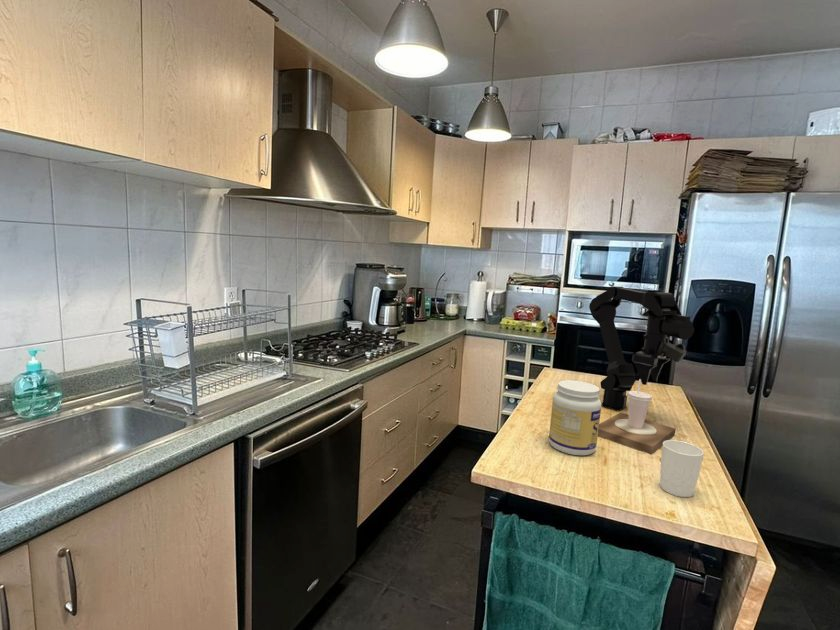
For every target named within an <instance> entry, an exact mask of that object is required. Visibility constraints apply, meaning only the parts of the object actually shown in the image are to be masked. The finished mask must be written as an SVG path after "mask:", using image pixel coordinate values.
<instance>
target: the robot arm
mask: <svg viewBox="0 0 840 630" xmlns="http://www.w3.org/2000/svg"><path fill="white" fill-rule="evenodd" d="M622 301H628V302H630V303H635V304H639V305H641V306H642V307H643V308H644V309H647V310H646V311H645V312H643V313H642V316H643V317H646V318H647V322H646V329H645V334H643V336H642V339H643V340H644V342H643V343H644V345H643V347H641V350H640V351H637V352H635V353H633V354H632V357H631V358H632V359H631V361H632V362H633V363H628V362H627V361H626V359H625V356H624V354H623V350H622V346H621V345H622V344H621V341H620V339H619V335H618V330H617V326H616V323H615V318H616V316H617V308H618V307H619V306H620V305H621V302H622ZM588 308H589V312H590V314H591V315H592V318H593V319H594V320H595V321H596V322H597V323H598V325H599V329H600V334H601V337H602V341H603V344H604V348H605V352H606V356H607V360H608V365H607V369H606V377H605V378H603V379H602V380H601V381H600V382H599V383H600V388H601V390H602V389H603V390H604V391H603V398H602V402H601V407H604V408H606V409H609V410H614V411H617V412H621V411H622V410H624V409H626V408H627V402H628V395H627V392H629V391H632V388H633V386H634V384H635V382H636V379H637V378H636V376H637V374H636V372H635V368H636V370H637V373H638V376H639V379H641V384H642V385H643V386H646V385H647V384H648V381H649V378H650V375H651V379H652V380H654V381H656V380H658V377H659V375H660V373H661V370H662V368H663V366H664V364H666V363H668V362H669V361H671V360H672V361H673V362H676V363H679V362H681V361H682V360H683V359H684V357H685V356H686V355H687V350H686V345H685V344H683V343H678V344H676V345H675V344H674V343H673V344H672V343H671V342H670V338H669V337H671V338H676V339H680V340H683V341H687V340H689V339H691V337H692V336H693V334H694V332H695V327H694V324H693V322H692V321H691V316H689V315H683V314H682V312H681V310H680V308H679V306H678V304H677V302H676V298H675V296H674V294H673V293H671V292H659V291H657V292H656V291H654V292H653V291H651V292H650V291H649V292H648V291H647V292H646V291H642V290H636V289H632V288H626V287H623V286H616V285H615V286H613V285H612V286H610V287H609V288H608V289H606V290H605V291H603V292H602V293H600V294H598V295H596V297H594V298H593V299H592V300H591V301H590V302H589V304H588ZM633 364H634V365H635V367H634V365H633Z"/></svg>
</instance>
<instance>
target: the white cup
mask: <svg viewBox="0 0 840 630" xmlns="http://www.w3.org/2000/svg"><path fill="white" fill-rule="evenodd" d="M661 448H662V449H661V459H660V460H661V461H660V471H659V472H660V473H659V474H660V479H659V487H660V488H661V489H662V490H663V491H665V492H667V494H668V493H669V494H670V495H673V496H676V497H681V498H691V497H693V496H694V494H695V491H696V486H697V483H698V480H699V479H698V478H699V477H700V471H701V467H702V462H703V458H704V455H705V454H704V453H705V452H704V450H703V449H702V448H700V447H698V446H697V445H695V444H692V443H689V442H685V441H681V440H674V439H670V440H666V441H664V442H663V446H661Z"/></svg>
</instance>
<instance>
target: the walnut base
mask: <svg viewBox="0 0 840 630" xmlns="http://www.w3.org/2000/svg"><path fill="white" fill-rule="evenodd" d="M676 431H677V430H676V427H672V426H669V425H665V424H662V423H658V422H656V421H655V422H654V421H651V420H647V419H645V421H644V424H643V427H642V428H641V429H637V428H632V427H630V426H629V425H628V413H624V412H621V411H619V412H618V413H616V414H615V415H613V416H610V417H609V418H608V419H606V420H604V421H602V422H599V429H598V438H601V439H605V440H608V441H611V442H614V443H616V444H620V445H622V446H626V447H628V448H632V449H634V450H637V451H640V452H643V453H646V454H649V455H653V454H655V452H656V451H658V450H659V449H661V448H662V447H663V442H664V441H666V440H672V438H673V437H675V435H676Z"/></svg>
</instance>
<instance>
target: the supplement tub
mask: <svg viewBox="0 0 840 630" xmlns="http://www.w3.org/2000/svg"><path fill="white" fill-rule="evenodd" d="M556 390H557V391H556V392H555V393H554V394H553V397H552V404H551V414H550V423H549V433H548V434H549V435H548V441H549V443H550V445H551V446H552V448H555V449H556V450H558V451H559V452H562V453H564V454H569V455H573V456H588V455H591V454H593V453H594V452H595V451H596V449H597V445H598V444H597V443H598V438H599V436H598V429H599V424H600V418H601V411H602V406H601V404H602V401H601V399H600V398H599V397H600V388H599V386H597V385H595V384H592V383H589V382H585V381H580V380H571V379H568V380H560V381H559V382H558V384H557V387H556Z"/></svg>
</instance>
